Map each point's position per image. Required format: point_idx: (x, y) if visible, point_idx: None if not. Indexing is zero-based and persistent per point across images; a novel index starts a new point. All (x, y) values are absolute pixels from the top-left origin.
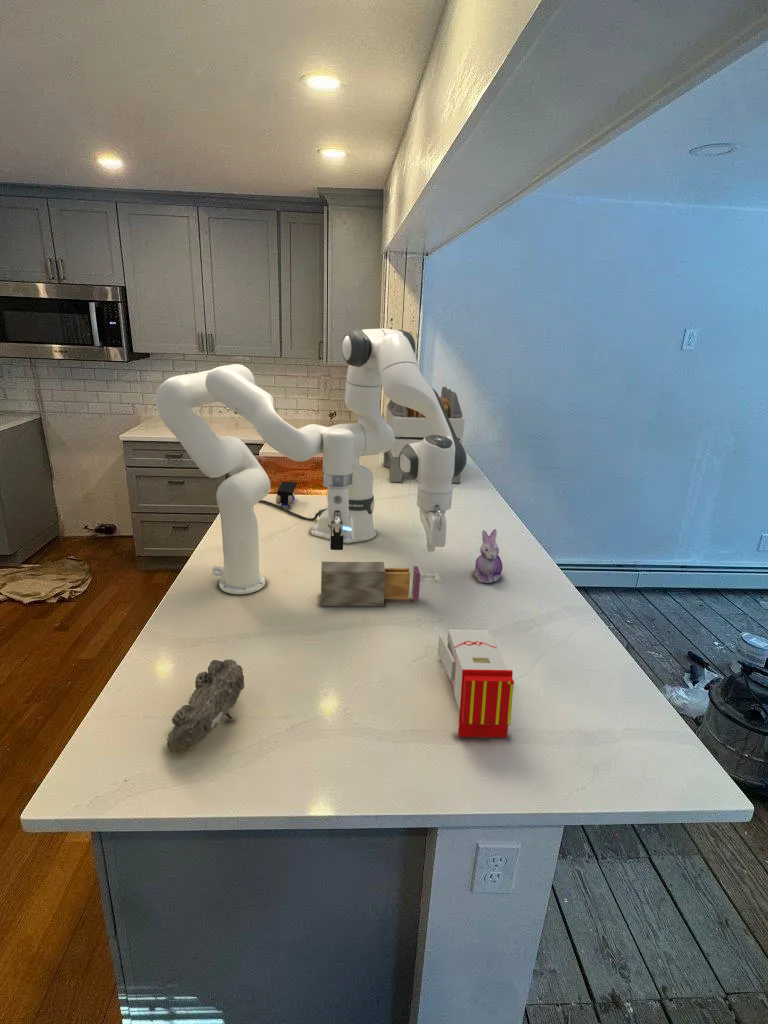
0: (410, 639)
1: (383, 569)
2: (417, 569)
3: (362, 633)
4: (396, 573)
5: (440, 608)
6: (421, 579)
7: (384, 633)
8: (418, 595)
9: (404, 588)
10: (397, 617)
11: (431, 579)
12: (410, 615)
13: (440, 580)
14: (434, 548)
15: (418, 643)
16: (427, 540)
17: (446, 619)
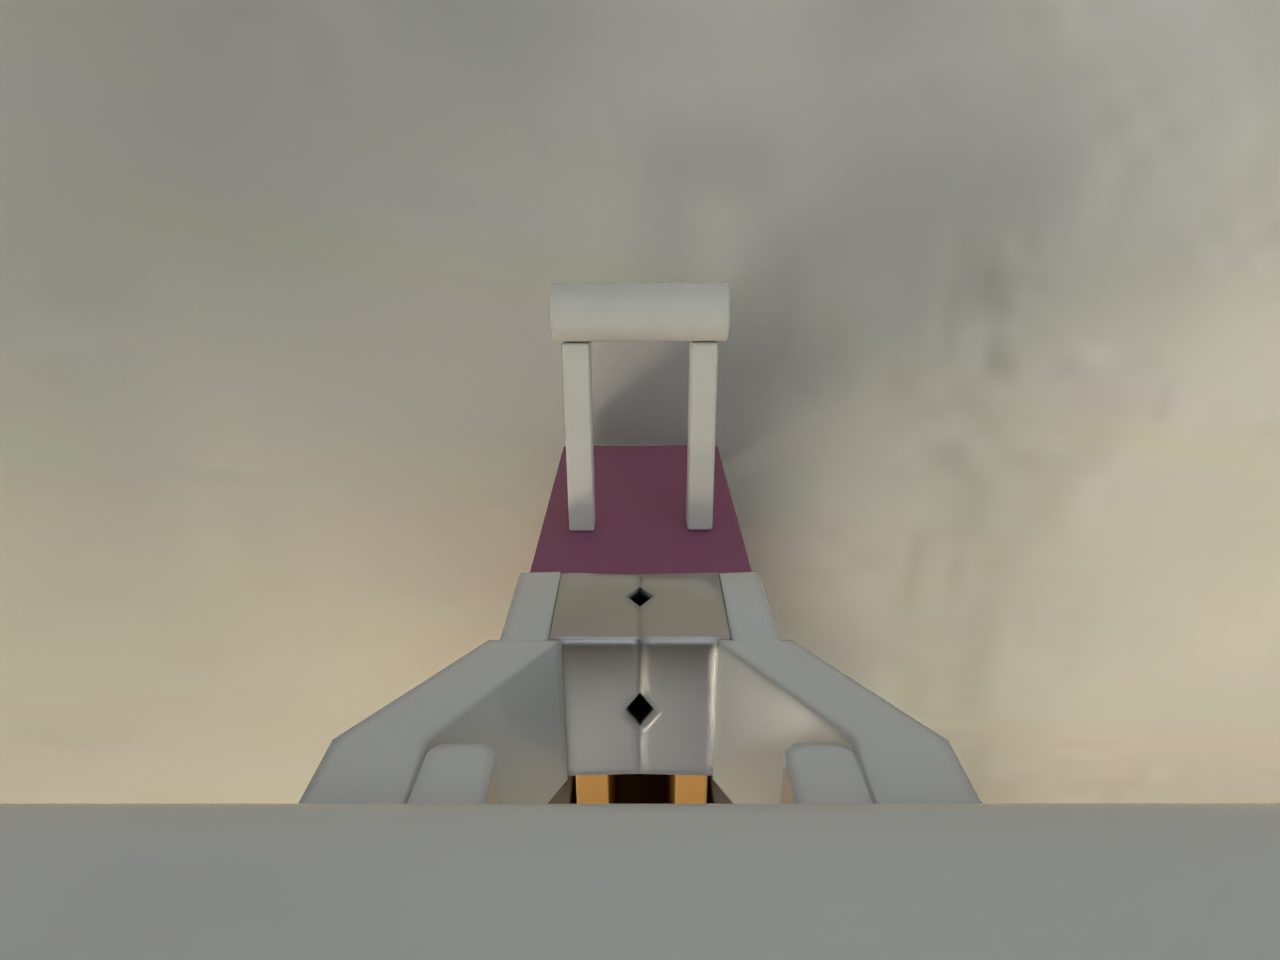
0: (1204, 551)
1: None
2: None
3: None
4: (706, 794)
5: (788, 250)
6: (701, 509)
7: (1086, 698)
8: (723, 470)
9: None
10: (895, 605)
11: (706, 399)
12: (878, 514)
13: (727, 289)
14: (765, 604)
15: (1270, 505)
16: (549, 792)
17: (984, 229)
